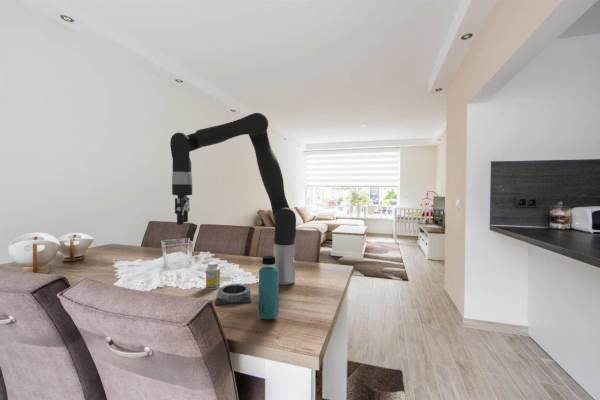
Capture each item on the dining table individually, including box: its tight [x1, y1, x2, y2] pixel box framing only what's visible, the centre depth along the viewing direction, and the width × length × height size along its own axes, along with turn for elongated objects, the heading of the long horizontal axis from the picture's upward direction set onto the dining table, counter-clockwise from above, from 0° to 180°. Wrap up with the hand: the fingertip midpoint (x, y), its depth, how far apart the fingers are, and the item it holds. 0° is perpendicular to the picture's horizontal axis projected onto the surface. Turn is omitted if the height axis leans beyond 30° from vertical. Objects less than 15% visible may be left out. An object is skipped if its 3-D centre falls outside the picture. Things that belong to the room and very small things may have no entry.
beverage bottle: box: [257, 255, 280, 320], centre depth 81 cm, size 6×7×20 cm
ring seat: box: [215, 283, 252, 306], centre depth 97 cm, size 12×12×3 cm
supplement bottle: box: [205, 261, 221, 290], centre depth 107 cm, size 6×6×10 cm
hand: (182, 223), depth 105 cm, fingers open, 8 cm apart
